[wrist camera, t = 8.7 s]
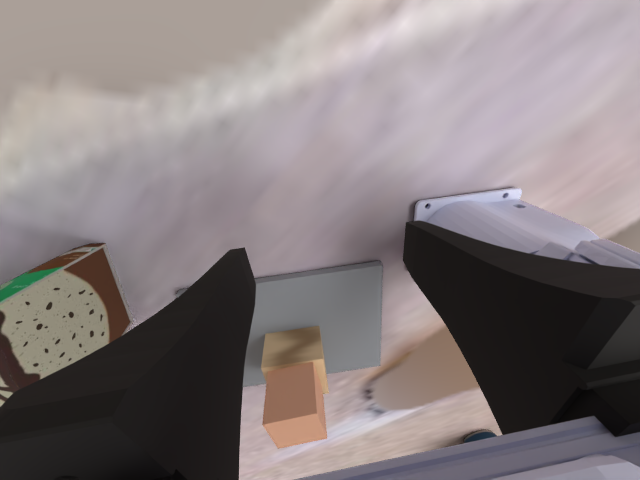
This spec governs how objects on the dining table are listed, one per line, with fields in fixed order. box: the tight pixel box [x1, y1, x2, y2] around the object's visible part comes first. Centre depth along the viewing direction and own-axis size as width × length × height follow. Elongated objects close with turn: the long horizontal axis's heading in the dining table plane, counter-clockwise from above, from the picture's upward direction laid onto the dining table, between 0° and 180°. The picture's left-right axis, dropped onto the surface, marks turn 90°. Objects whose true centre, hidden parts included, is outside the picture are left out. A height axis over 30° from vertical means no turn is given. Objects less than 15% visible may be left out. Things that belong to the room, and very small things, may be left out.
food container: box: [0, 243, 134, 407], centre depth 18 cm, size 12×6×10 cm, turn 174°
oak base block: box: [261, 326, 329, 394], centre depth 26 cm, size 6×6×4 cm
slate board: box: [176, 261, 383, 387], centre depth 27 cm, size 20×16×1 cm
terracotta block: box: [263, 362, 327, 449], centre depth 22 cm, size 4×4×4 cm
